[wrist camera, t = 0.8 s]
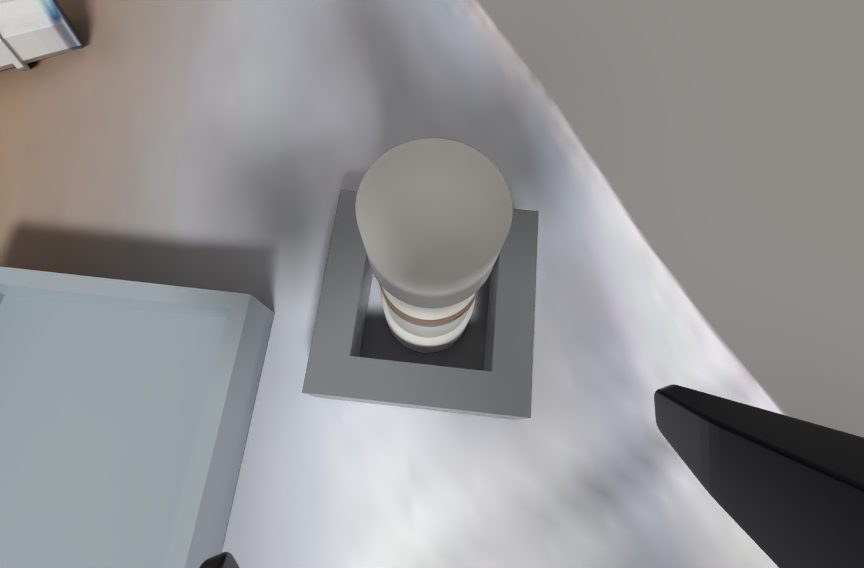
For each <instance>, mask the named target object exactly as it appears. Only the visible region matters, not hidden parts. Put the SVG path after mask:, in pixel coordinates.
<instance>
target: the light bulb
mask: <svg viewBox="0 0 864 568" xmlns="http://www.w3.org/2000/svg"><path fill="white" fill-rule="evenodd" d="M355 207H356V218H357V224H358V227H359V231H360V234H361V237H362V240H363V244H364V247H365V250H366V254H367V257H368V260H369V263H370V266H371V269H372V272H373V273H374V275H375V277H376V279H377V280H378V282H379V283H380V287H381V290H382V306H383V310H384V313H385V316H386V320H387V323H388V326H389V328H390V330H391V332H392V334H393V335H394V337H395V338H396V339H397V340H398V341H399V342H400V343H401V344H402V345H404V346H405V347H407V348H409V349H411V350H414V351H417V352H423V353H432V352H438V351H441V350H444V349H446V348H448V347H450V346H451V345H453V344H454V343H455V342H456V341H457V340H458V339H459V338H460V337H461V335H462V334H463V332H464V330H465V328H466V326H467V324H468V321H469V319H470V317H471V315H472V313H473V309H474V305H475V297H476V295H477V292H478V290H479V289H480V288H481V287H482V285H483V284H484V283H485V281H486V280H487V278H488V277H489V275H490V273H491V270H492V268H493V266H494V264H495V262H496V259H497V257H498V255H499V253H500V250H501V248H502V246H503V244H504V242H505V239H506V237H507V235H508V233H509V230H510V226H511V223H512V215H513V204H512V198H511V193H510V190H509V187H508V184H507V182H506V180H505V178H504V176H503V175H502V173H501V172H500V170H499V169H498V168H497V167H496V165H495V164H494V163H493V162H492V161H491V160H490V159H489V158H487V157H486V156H485V155H484V154H482V153H481V152H479V151H478V150H476V149H474V148H472V147H471V146H468V145H466V144H463V143H461V142H457V141H454V140H449V139H443V138H423V139H417V140H412V141H409V142H405V143H403V144H400V145H398V146H396V147H394V148H392V149H390V150H389V151H387V152H385V153H384V154H383V155H382V156H380V157H379V158H378V159H377V160H376V161H375V162H374V163H373V164H372V165H371V166H370V168H369V169H368V170H367V172H366V173H365V175H364V177H363V178H362V181H361V183H360V186H359V188H358V192H357V196H356V205H355Z"/></svg>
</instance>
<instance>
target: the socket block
mask: <svg viewBox="0 0 864 568" xmlns="http://www.w3.org/2000/svg"><path fill="white" fill-rule="evenodd" d="M356 196H357V192H354V191H345V190H341V191H340V196H339V202H338V207H337V212H336V217H335V223H334V228H333V233H332V238H331V243H330V249H329V254H328V259H327V264H326V270H325V275H324V280H323V285H322V291H321V296H320V301H319V306H318V311H317V317H316V322H315V327H314V332H313V338H312V343H311V348H310V353H309V359H308V364H307V369H306V374H305V380H304V385H303V390H302V393H306V394H309V395H312V396H315V397H321V398H329V399H338V400H347V401H356V402H365V403H374V404H383V405H392V406H401V407H410V408H419V409H428V410H437V411H445V412H454V413H463V414H472V415H481V416H490V417H499V418H508V419H526V418H531V392H532V366H533V340H534V313H535V287H536V260H537V234H538V211H529V210H520V209H513V215H512V223H511V226H510V230H509V233H508V235H507V237H506V239H505V242H504V244H503V246H502V248H501V250H500V253H499V255H498V257H497V259H496V262H495V264H494V266H493V268H492V270H491V273H490V287H489V301H488V316H487V330H486V344H485V358H484V371H481V370H472V369H463V368H454V367H445V366H436V365H427V364H418V363H409V362H400V361H391V360H382V359H373V358H364V357H360V351H361V345H362V339H363V332H364V326H365V319H366V313H367V307H368V300H369V294H370V287H371V281H372V275H373V272H372V269H371V266H370V263H369V260H368V257H367V254H366V250H365V247H364V244H363V240H362V237H361V234H360V231H359V227H358V224H357V218H356V207H355V205H356Z"/></svg>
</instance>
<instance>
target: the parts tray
mask: <svg viewBox="0 0 864 568" xmlns="http://www.w3.org/2000/svg"><path fill="white" fill-rule="evenodd" d="M273 317H274V312H272V311H271V310H270V309H269V308H267V307H266V306H265V305H264V304H262V303H261V302H260V301H259V300H257V299H256V298H255V297H254V296H252V295H251V294H245V293H236V292H227V291H218V290H209V289H199V288H190V287H181V286H172V285H163V284H154V283H145V282H136V281H127V280H118V279H109V278H100V277H91V276H82V275H73V274H64V273H55V272H45V271H36V270H27V269H18V268H9V267H0V568H199V567H200V566H201V564H202V563H203V562H204V561H205V560H206V559H208V558H210V557H213V556H215V555H218V554H221V553H222V548H223V543H224V539H225V534H226V530H227V525H228V521H229V516H230V512H231V507H232V503H233V498H234V494H235V489H236V485H237V480H238V476H239V471H240V467H241V462H242V458H243V453H244V449H245V444H246V439H247V435H248V430H249V426H250V421H251V417H252V412H253V408H254V403H255V399H256V394H257V390H258V385H259V381H260V376H261V372H262V367H263V363H264V358H265V354H266V349H267V345H268V340H269V335H270V331H271V326H272V322H273Z"/></svg>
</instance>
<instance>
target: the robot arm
mask: <svg viewBox="0 0 864 568" xmlns="http://www.w3.org/2000/svg"><path fill="white" fill-rule="evenodd" d="M654 402H655V415H656V423H657V426H658V428H659V430H660V432H661V433H662V434H663V436H664V437H665V438H666V439H667V441H668V442H669V443H670V445H671V446H672V447H673V448H674V450H675V451H676V452H677V453H678V455H679V456H680V457H681V459H682V460H683V461H684V462H685V464H686V465H687V466H688V467H689V469H690V470H691V471H692V473H693V474H694V475H695V476H696V478H697V479H698V480H699V481H700V483H701V484H702V485H703V486H704V488H705V489H706V490H707V491H708V492H709V494H710V495H711V496H712V497H713V498H714V499H715V500H716V501H717V502H718V504H719V505H720V506H721V507H722V508H723V509H724V510H725V511H726V512H727V513H728V514H729V515H730V516H731V517H732V518H733V519H734V520H735V522H736V523H737V524H738V525H739V526H740V527H741V528H742V529H743V530H744V531H745V532H746V533H747V534H748V535H749V536H750V537H751V538H752V539H753V540H754V542H755V543H756V544H757V545H758V546H759V547H760V548H761V549H762V550H763V551H764V552H765V553H766V554H767V555H768V556H769V557H770V558H771V559H772V560H773V562H774V563H775V564H776V565H777V566H778V567H779V568H864V438H863V437H860V436H856V435H853V434H849V433H845V432H842V431H838V430H834V429H831V428H828V427H824V426H821V425H817V424H814V423H810V422H806V421H803V420H799V419H796V418H792V417H789V416H785V415H782V414H778V413H774V412H771V411H767V410H764V409H760V408H757V407H753V406H750V405H746V404H742V403H739V402H735V401H732V400H728V399H725V398H721V397H718V396H714V395H710V394H707V393H703V392H700V391H696V390H693V389H689V388H686V387H682V386H678V385H669V386H666V387H663V388H661V389H658V390H657V391H656V392H655V394H654ZM199 568H240V567H239V566H238V564H237V562H236V561H235V559H234V557H233V556H232V554H231V553H229V552H223V553H221V554H218V555H215V556H213V557H210V558H208V559H206V560H205V561H204V562H203V563H202V564H201V566H200V567H199Z"/></svg>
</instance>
